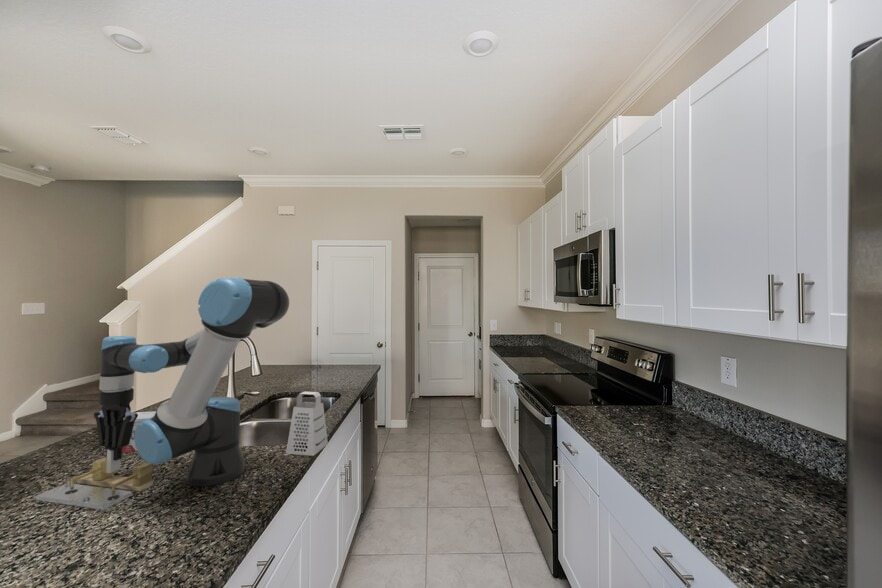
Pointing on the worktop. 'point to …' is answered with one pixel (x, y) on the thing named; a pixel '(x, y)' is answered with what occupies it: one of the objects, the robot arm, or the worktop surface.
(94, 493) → the bolt plate
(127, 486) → the rail
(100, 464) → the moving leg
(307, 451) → the grater
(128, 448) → the ink box
